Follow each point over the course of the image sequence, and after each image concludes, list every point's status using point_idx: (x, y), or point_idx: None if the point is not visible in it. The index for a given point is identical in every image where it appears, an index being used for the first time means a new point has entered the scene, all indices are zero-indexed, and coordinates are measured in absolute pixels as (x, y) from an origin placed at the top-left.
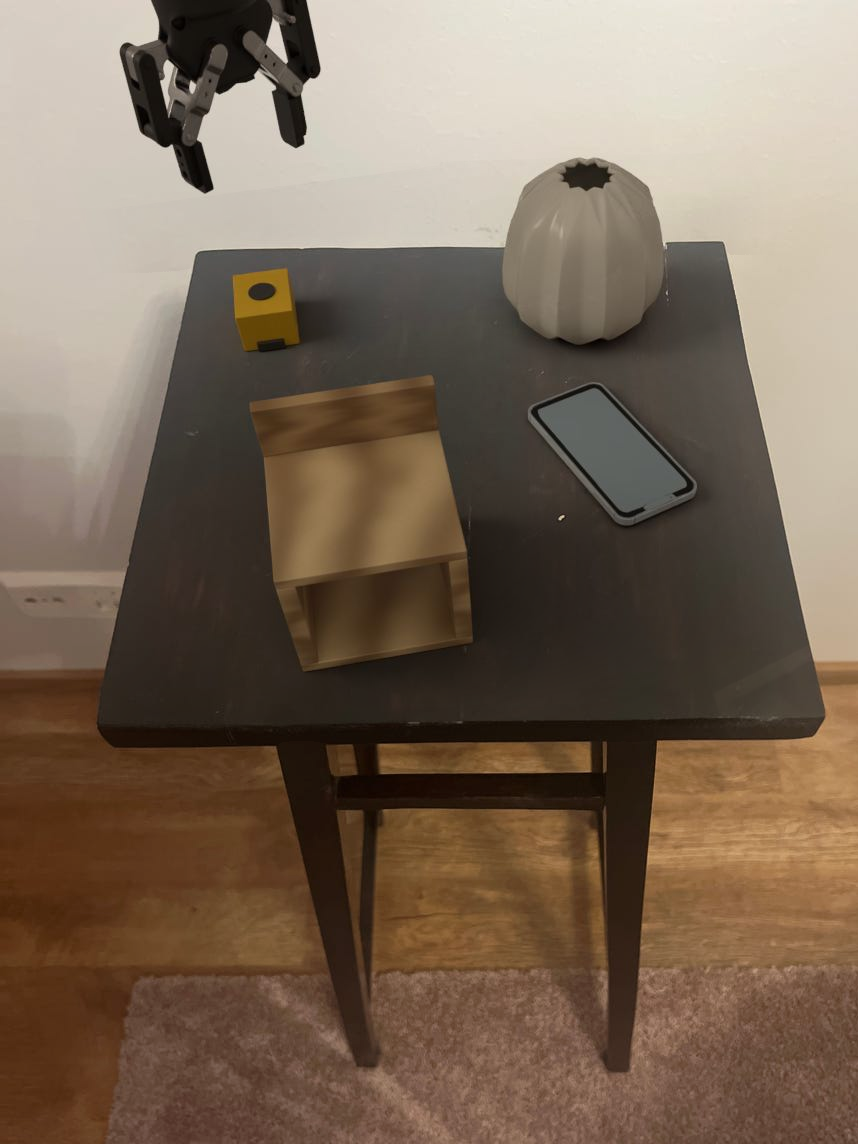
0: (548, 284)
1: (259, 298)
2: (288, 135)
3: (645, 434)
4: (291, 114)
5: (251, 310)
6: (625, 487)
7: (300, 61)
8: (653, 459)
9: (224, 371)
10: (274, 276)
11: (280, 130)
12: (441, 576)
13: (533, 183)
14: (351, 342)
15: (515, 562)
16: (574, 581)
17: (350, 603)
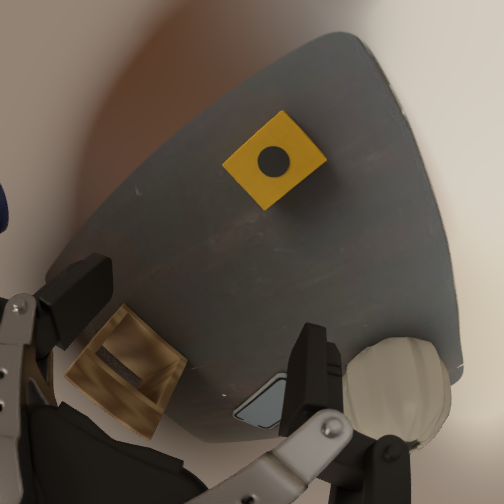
0: (345, 406)
1: (260, 168)
2: (296, 353)
3: None
4: (282, 410)
5: (241, 172)
6: (250, 414)
7: (348, 484)
8: (274, 418)
9: (201, 161)
10: (305, 156)
11: (305, 335)
12: (157, 370)
13: (409, 419)
14: (295, 240)
15: (189, 386)
16: (197, 402)
17: (121, 344)
